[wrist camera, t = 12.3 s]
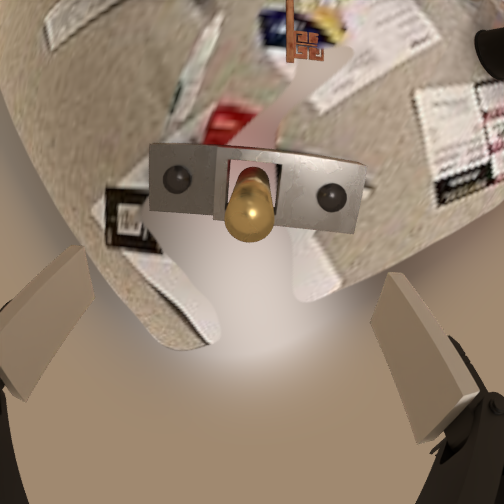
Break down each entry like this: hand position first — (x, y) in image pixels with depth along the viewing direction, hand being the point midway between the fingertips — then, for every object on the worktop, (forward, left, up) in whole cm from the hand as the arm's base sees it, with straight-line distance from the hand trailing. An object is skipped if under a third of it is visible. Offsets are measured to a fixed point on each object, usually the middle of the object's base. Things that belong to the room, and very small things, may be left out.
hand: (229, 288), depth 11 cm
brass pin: (+1, +1, -23) cm, 23 cm away
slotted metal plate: (0, +1, -23) cm, 23 cm away
